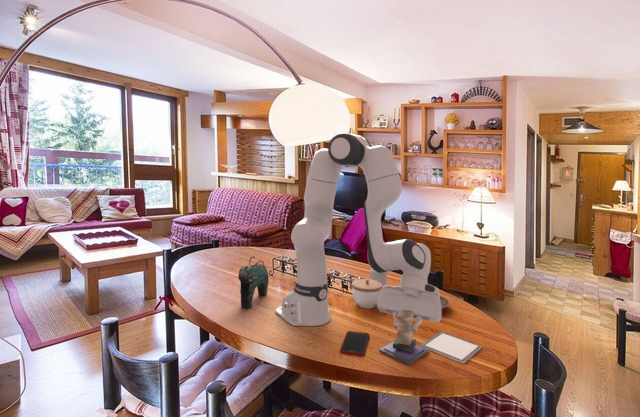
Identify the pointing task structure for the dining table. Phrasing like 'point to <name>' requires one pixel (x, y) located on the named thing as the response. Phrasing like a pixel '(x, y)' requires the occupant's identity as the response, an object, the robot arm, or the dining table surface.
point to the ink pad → (404, 353)
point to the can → (378, 276)
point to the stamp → (405, 332)
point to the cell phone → (355, 343)
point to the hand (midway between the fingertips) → (404, 329)
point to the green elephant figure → (252, 282)
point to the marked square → (452, 347)
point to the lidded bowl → (366, 292)
